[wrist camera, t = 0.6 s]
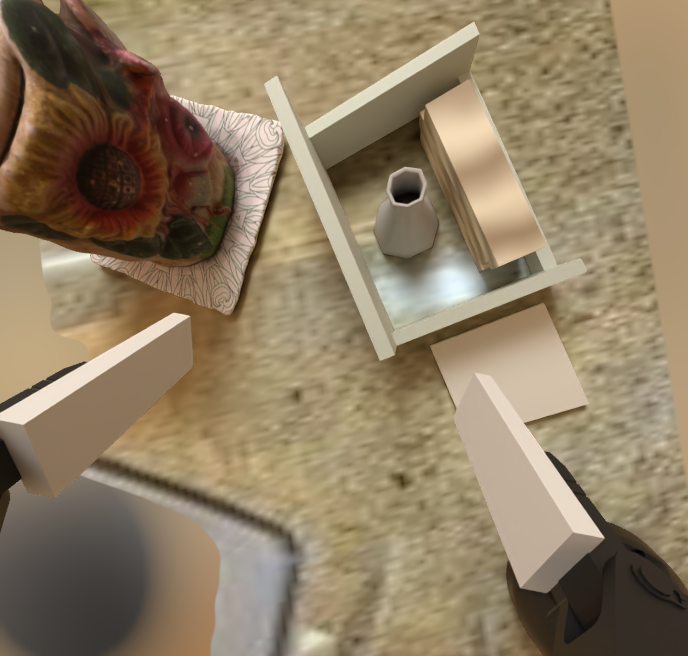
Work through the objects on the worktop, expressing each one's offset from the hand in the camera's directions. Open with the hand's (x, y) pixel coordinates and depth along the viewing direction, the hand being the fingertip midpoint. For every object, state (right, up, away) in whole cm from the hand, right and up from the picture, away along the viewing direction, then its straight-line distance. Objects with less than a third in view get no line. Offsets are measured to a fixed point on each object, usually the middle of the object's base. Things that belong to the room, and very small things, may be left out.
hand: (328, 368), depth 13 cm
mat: (+18, -3, +17) cm, 25 cm away
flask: (+8, +13, +19) cm, 24 cm away
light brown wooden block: (+14, +16, +17) cm, 27 cm away
